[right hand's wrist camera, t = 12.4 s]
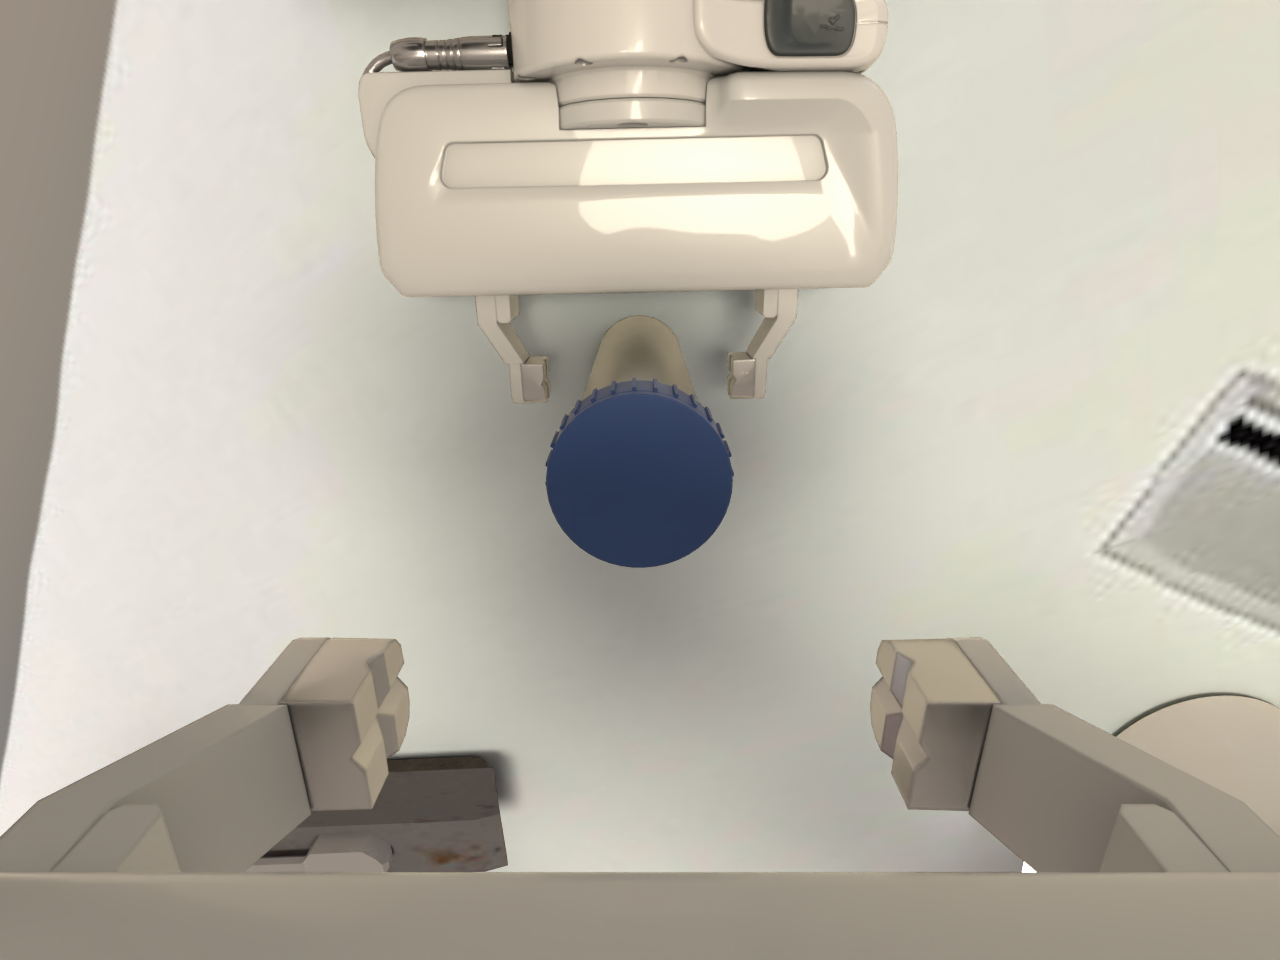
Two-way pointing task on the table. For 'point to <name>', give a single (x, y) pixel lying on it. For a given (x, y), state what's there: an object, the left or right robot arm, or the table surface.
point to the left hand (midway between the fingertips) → (638, 398)
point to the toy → (404, 825)
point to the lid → (639, 474)
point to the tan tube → (639, 356)
